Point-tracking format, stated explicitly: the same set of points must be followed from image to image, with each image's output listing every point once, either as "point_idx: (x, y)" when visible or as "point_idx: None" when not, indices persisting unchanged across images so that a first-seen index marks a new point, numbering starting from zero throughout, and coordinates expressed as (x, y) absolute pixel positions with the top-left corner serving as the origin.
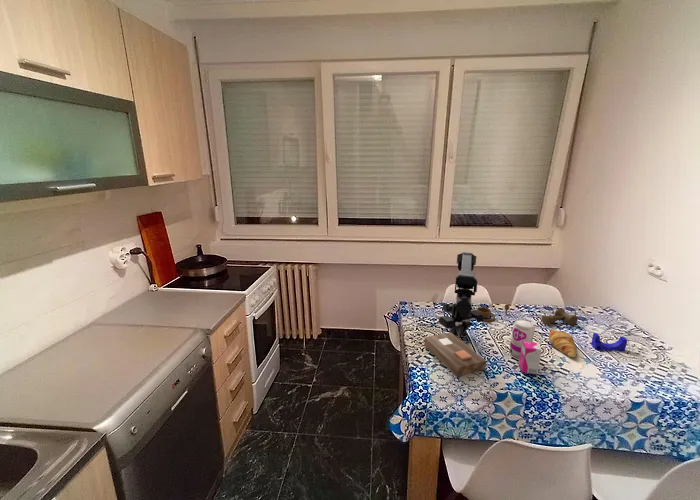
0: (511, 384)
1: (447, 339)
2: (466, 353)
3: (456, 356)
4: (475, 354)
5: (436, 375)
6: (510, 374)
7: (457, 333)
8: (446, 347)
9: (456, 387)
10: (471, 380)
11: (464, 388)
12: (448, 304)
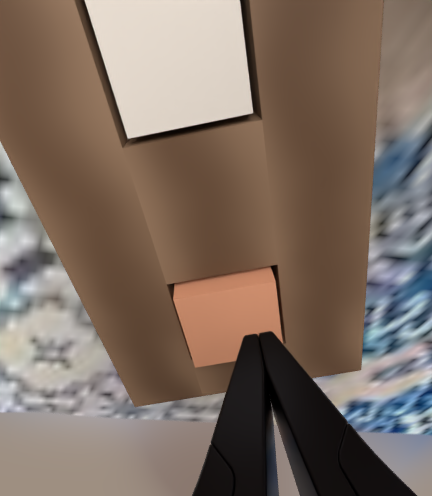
0: (368, 408)
1: (221, 1)
2: (266, 322)
3: (176, 317)
4: (340, 309)
5: (28, 341)
6: (427, 362)
7: (233, 384)
8: (138, 188)
9: (113, 409)
10: None
11: (147, 415)
12: None
